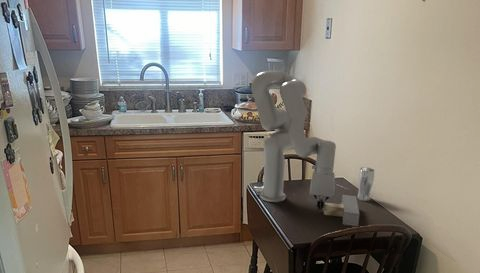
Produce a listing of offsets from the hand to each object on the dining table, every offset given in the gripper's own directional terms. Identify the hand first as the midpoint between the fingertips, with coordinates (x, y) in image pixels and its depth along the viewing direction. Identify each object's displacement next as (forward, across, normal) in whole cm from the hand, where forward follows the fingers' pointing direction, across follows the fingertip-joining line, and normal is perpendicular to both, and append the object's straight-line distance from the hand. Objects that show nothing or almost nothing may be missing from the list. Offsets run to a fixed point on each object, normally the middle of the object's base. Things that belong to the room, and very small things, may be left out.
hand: (320, 208), depth 164 cm
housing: (+1, +12, 0) cm, 13 cm away
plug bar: (+2, +8, 0) cm, 8 cm away
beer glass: (+2, +20, +22) cm, 30 cm away
